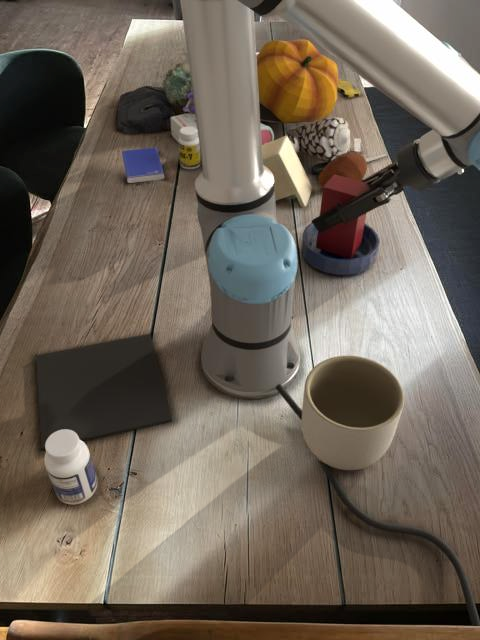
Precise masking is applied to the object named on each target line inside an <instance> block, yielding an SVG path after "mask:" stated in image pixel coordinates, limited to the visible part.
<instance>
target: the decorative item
mask: <svg viewBox="0 0 480 640" xmlns="http://www.w3.org/2000/svg"><path fill="white" fill-rule="evenodd" d="M337 91H339V92H341V93H343V96H344V98H356V97H360V96H361V91H360V90H356V89H355V88H353V85H352V83H351V82H349V81H347V80H345V79H342V78H338V87H337Z"/></svg>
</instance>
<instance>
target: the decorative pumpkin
mask: <svg viewBox="0 0 480 640" xmlns="http://www.w3.org/2000/svg"><path fill="white" fill-rule="evenodd" d="M256 58H257V75H258V92H259V102H260V103H261V104H262V105H263V106H264V107H266V108H267V109H269V110H270V111H272V112H273V114H274V115H275V116H276V117H277V118H278V119H280V120H281V121H282V122H284V123H283V124H293V125H294V124H295V125H296V124H301V123H313V122H316V121H320V120H323V119H326V118H328V117H329V115H330V114H332V112H333V110H334V108H335V105H336V103H337V99H338V90H337V87H338V79H339V72H338V64H337V63H336V62H335V61H334V60H332V59H331V58H329V57H327V56H326V55H324V54H322V53H320V51H319V50H318V49H317V48H316V46H315V45H314V44H313V43H312V41H311V40H310V39H294V40H289V41H287V40H278V39H277V40H270V41H268V42H266V43H264V44H263V46H262V48H261V49H260V50H259V54H257V55H256Z"/></svg>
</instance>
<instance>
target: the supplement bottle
mask: <svg viewBox="0 0 480 640" xmlns="http://www.w3.org/2000/svg"><path fill="white" fill-rule="evenodd" d="M178 154H179V155H178V157H179V165H180V167H181V168H182V169H186V170H195V169H198V168H199V167H200V166H201V165H202V159H201V150H200V143H199V137H198V130H197V129H196V128H195V127H183V128H181V129H180V138H179V143H178Z"/></svg>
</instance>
